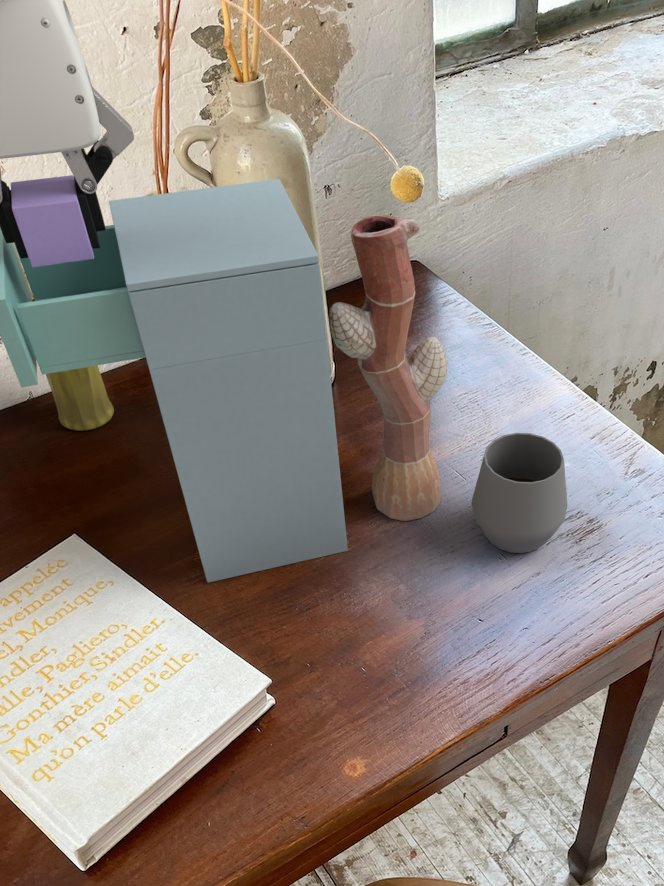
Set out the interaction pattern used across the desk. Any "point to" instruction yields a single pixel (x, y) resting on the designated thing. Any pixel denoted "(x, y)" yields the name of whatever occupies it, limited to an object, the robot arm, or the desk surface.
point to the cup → (520, 492)
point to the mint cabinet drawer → (66, 312)
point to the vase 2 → (393, 366)
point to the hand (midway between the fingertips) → (59, 242)
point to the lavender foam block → (50, 221)
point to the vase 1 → (80, 398)
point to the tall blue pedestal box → (238, 369)
